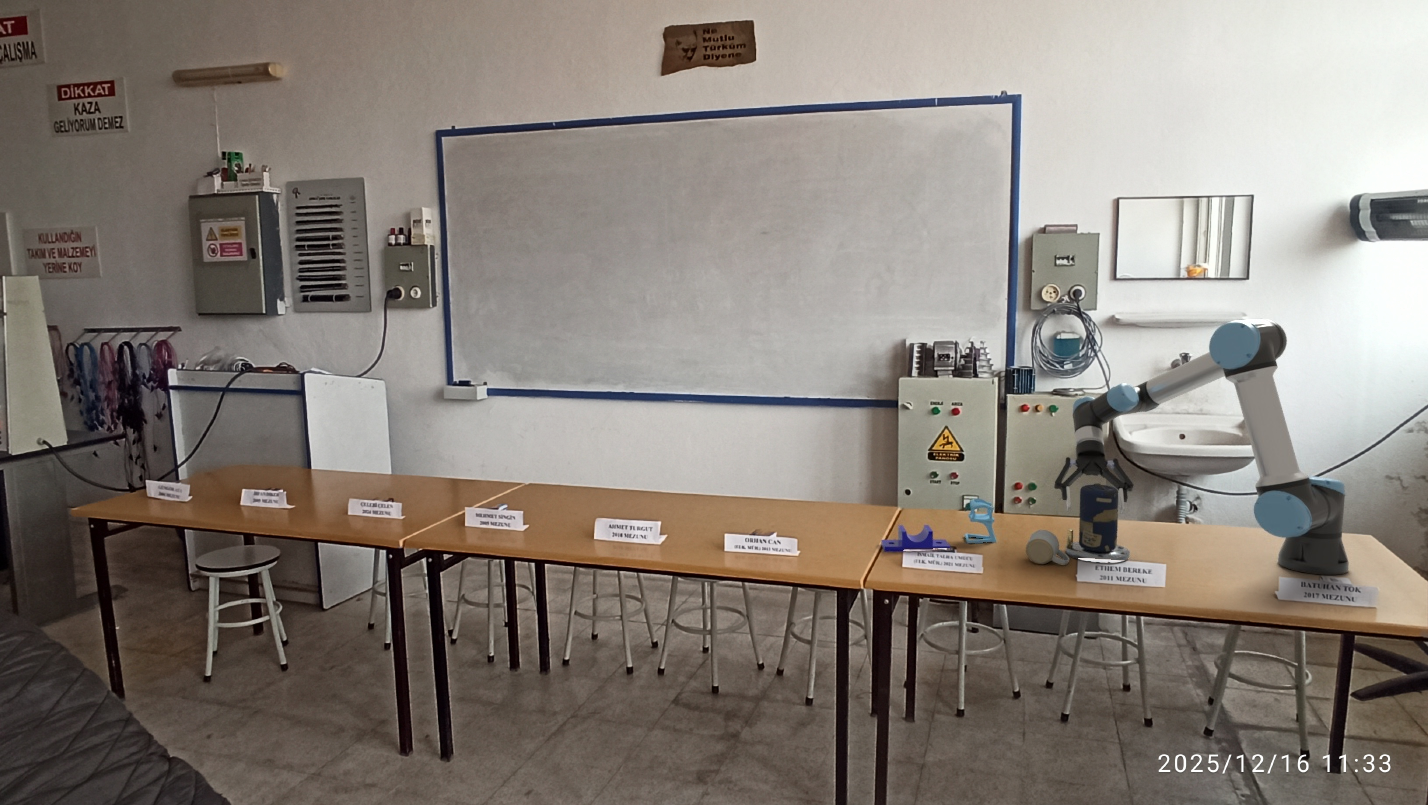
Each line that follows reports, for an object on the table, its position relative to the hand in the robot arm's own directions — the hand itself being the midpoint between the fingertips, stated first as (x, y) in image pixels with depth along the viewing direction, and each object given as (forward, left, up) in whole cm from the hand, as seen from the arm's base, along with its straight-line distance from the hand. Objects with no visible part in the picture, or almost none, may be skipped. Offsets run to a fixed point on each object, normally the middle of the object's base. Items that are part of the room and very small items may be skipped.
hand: (1095, 510), depth 257 cm
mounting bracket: (+48, +5, -12) cm, 49 cm away
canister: (0, +3, -10) cm, 11 cm away
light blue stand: (+30, -6, -12) cm, 32 cm away
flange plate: (0, +3, -11) cm, 12 cm away
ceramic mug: (+13, +12, -12) cm, 21 cm away
